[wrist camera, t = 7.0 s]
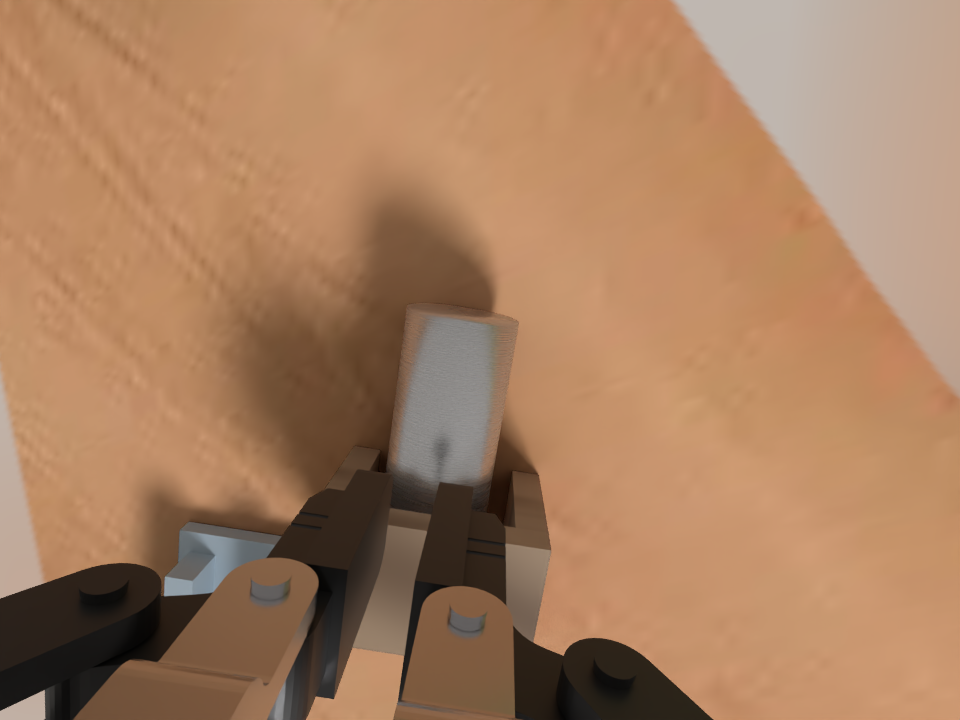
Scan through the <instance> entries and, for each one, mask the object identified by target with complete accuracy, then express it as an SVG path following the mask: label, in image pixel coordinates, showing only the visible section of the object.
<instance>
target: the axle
mask: <svg viewBox="0 0 960 720" xmlns="http://www.w3.org/2000/svg"><path fill="white" fill-rule="evenodd" d="M518 325H519V322H518V321H517V320H515V319H513V318H511V317H508V316H505V315H502V314H498V313H494V312H490V311H485V310H479V309H472V308H466V307H460V306H454V305H447V304H437V303H412V304H408V305H407V310H406V318H405V326H404V334H403V341H402V349H401V357H400V365H399V373H398V381H397V388H396V396H395V404H394V412H393V420H392V427H391V435H390V443H389V451H388V459H387V467H386V473H388V474H393V487H392V495H391V503H390V508H392V509H399V510H405V511H412V512H418V513H424V514H432V510H433V506H434V502H435V498H436V494H437V490H438V486H439V482H446V483H452V484H458V485H465V486H471V487H473V496H472V505H471V510H472V511H479V512H485V513H486V512H487V507H488V501H489V495H490V489H491V483H492V477H493V471H494V466H495V460H496V454H497V448H498V442H499V436H500V430H501V424H502V419H503V413H504V407H505V401H506V395H507V389H508V383H509V378H510V372H511V366H512V360H513V354H514V348H515V342H516V337H517V331H518Z"/></svg>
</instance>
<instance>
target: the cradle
mask: <svg viewBox="0 0 960 720" xmlns="http://www.w3.org/2000/svg"><path fill="white" fill-rule="evenodd" d="M281 537H282V536H278V535H271V534H265V533H259V532H252V531H246V530H239V529H233V528H227V527H220V526H214V525H207V524H201V523H195V522H188V523H187V524H186V525H185V526H184V527H182V528H181V529H180V533H179V555H178V564H177V565H176V566H175V567H174V568H173V569H172V570H171V571H170V572H169V573H168V574H167V575H166V576H165V586H164V596H177V595H194V594H205V593H212V592H214V591H215V589H216V588H217V587H218V586H219V584H220V583H221V582H222V581H223V579H224V578H225V577H226V576H227V575H228V574H229V573H230V572H231V571H232V570H234V569H235V568H237V567H239V566H241V565H243V564H245V563H248V562H251V561H254V560H258V559H264V558H266V557H267V556H268V555H269V553H270V552H271V551H272V549H273V548H274V546H275V545H276V544H277V542H278V541H279V539H280V538H281Z"/></svg>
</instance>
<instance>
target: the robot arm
mask: <svg viewBox="0 0 960 720" xmlns="http://www.w3.org/2000/svg"><path fill="white" fill-rule="evenodd" d="M392 487H393V474H388V473H381V472H375V471H368V470H362V469H357V471H356V472H355V474H354V476H353V477H352V479H351V481H350V482H349V484H348V485H347V487H346V489H345V490H337V489H331V488H327V489H325V490H323V491H321V492H319V493H318V494H316V495H314V496H312V497H310V498H309V499H308V501H307V502H306V503H305V505H304V506H303V508H302V509H301V510H300V512H299V514H297V516H296V517H295V519H294V520H293V521H292V523H291V526H289V527H288V528H287V530H286V531H285V532H284V534H283V535H282V537H281V538H280V539H279V541H278V542H277V544H276V545H275V546H274V548H273V549H272V551H271V552H270V553H269V555H268V556H267V557H266V558H264V559H258V560H254V561H251V562H248V563H245V564H243V565H241V566H239V567H237V568H235V569H234V570H232V571H231V572H230V573H229V574H228V575H227V576H226V577H225V578H224V579H223V581H222V582H221V583H220V584H219V586H218V587H217V588H216V589H215V591H214V592H212V593H205V594H194V595H177V596H161V579H160V577H159V575H158V574H157V573H156V572H155V571H153V570H152V569H150V568H147V567H145V566H141V565H137V564H129V563H116V564H106V565H100V566H95V567H91V568H88V569H85V570H81V571H79V572H76V573H73V574H70V575H67V576H64V577H61V578H58V579H55V580H53V581H50V582H47V583H44V584H41V585H38V586H35V587H32V588H29V589H27V590H24V591H21V592H18V593H15V594H12V595H9V596H6V597H4V598H1V599H0V711H1V710H3V709H5V708H7V707H9V706H11V705H13V704H16V703H18V702H20V701H22V700H24V699H26V698H28V697H30V696H32V695H34V694H37V693H39V692H41V691H43V690H45V717H46V719H45V720H306V718H307V716H308V714H309V712H310V709H311V707H312V704H313V702H314V699H315V697H316V696H317V697H324V698H330V699H334V697H335V694H336V692H337V689H338V686H339V683H340V680H341V678H342V675H343V672H344V669H345V667H346V664H347V661H348V658H349V655H350V653H351V650H352V647H353V644H354V642H355V639H356V636H357V633H358V630H359V628H360V625H361V622H362V619H363V616H364V614H365V611H366V608H367V605H368V603H369V600H370V597H371V594H372V591H373V589H374V586H375V583H376V580H377V578H378V575H379V572H380V568H381V564H382V560H383V555H384V549H385V543H386V535H387V527H388V519H389V511H390V503H391V495H392ZM472 496H473V487H471V486H465V485H458V484H452V483H446V482H439V486H438V490H437V494H436V498H435V502H434V506H433V510H432V514H431V518H430V522H429V526H428V530H427V534H426V538H425V542H424V546H423V550H422V554H421V558H420V562H419V566H418V570H417V574H416V578H415V583H414V591H413V598H412V605H411V612H410V619H409V626H408V633H407V641H406V648H405V655H404V662H403V669H402V676H401V684H400V691H399V698H398V703H397V706H396V710H395V715H394V719H393V720H713V719H712V718H711V717H710V716H709V715H707V714H706V713H705V712H704V711H703V710H702V709H701V708H700V707H699V706H698V705H697V704H695V703H694V702H693V701H692V700H691V699H690V698H689V697H688V696H687V695H686V694H685V693H683V692H682V691H681V690H680V689H679V688H678V687H677V686H676V685H675V684H674V683H673V682H671V681H670V680H669V679H668V678H667V677H666V676H665V675H664V674H663V673H662V672H661V671H660V670H658V669H657V668H656V667H655V666H654V665H653V664H652V663H651V662H650V661H649V660H647V659H646V658H645V657H644V656H643V655H641V654H640V653H638V652H637V651H635V650H634V649H632V648H630V647H628V646H626V645H624V644H621V643H619V642H615V641H612V640H608V639H602V638H588V639H583V640H579V641H577V642H575V643H573V644H572V645H571V646H569V648H568V649H567V650H566V652H565V654H564V656H562V655H560V654H557V653H555V652H552V651H550V650H547V649H545V648H543V647H541V646H538V645H536V644H535V643H533V642H531V641H530V640H528V639H527V638H526V637H524V636H523V635H522V634H521V633H520V632H519V631H518V630H517V629H516V628H515V627H514V626H513V619H512V615H511V612H510V611H509V609H508V607H507V606H506V546H505V545H506V528H505V527H504V526H503V524H502V523H501V521H500V520H499V519H498V517H497V516H496V514H492V513H485V512H479V511H472V510H471V505H472Z"/></svg>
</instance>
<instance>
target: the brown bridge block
mask: <svg viewBox="0 0 960 720" xmlns="http://www.w3.org/2000/svg"><path fill="white" fill-rule="evenodd" d="M380 451H381V450H377V449H371V448H364V447H358V446H354V447H353V448H352V450H351V451H350V453H349V454H348V456H347V457H346V459H345V460H344V462H343V463H342V464H341V466H340V467H339V469H338V470H337V472H336V473H335V475H334V476H333V478H332V479H331V480H330V482H329V483H328V485H327V486H326V488H325V489H327V488H331V489H337V490H345V489H346V487H347V485H348V484H349V482H350V481H351V479H352V477H353V476H354V474H355V472H356V471H357V469H362V470H368V471H375V472H378V467H379V459H380ZM325 489H324V490H325ZM430 518H431V514H424V513H418V512H412V511H405V510H399V509H392V508H390V511H389V519H388V527H387V535H386V543H385V549H384V555H383V560H382V564H381V568H380V572H379V575H378V578H377V580H376V583H375V586H374V589H373V591H372V594H371V597H370V600H369V603H368V605H367V608H366V611H365V614H364V616H363V619H362V622H361V625H360V628H359V630H358V633H357V636H356V639H355V642H354V644H353V647H352V648H358V649H364V650H371V651H377V652H384V653H390V654H396V655H403V656H404V655H405V648H406V641H407V633H408V626H409V619H410V612H411V605H412V598H413V591H414V583H415V578H416V574H417V570H418V566H419V562H420V558H421V554H422V550H423V546H424V542H425V538H426V534H427V530H428V526H429V522H430ZM503 526H504V527H505V528H506V545H505V546H506V606H507V607H508V609H509V611H510V612H511V615H512V619H513V626H514V627H515V628H516V629H517V630H518V631H519V632H520V633H521V634H522V635H523V636H524V637H526V638H527V639H528V640H530V641H531V642H533V640H534V635H535V630H536V625H537V620H538V615H539V610H540V605H541V600H542V595H543V590H544V585H545V580H546V575H547V570H548V565H549V560H550V555H551V545H550V539H549V533H548V527H547V521H546V515H545V509H544V503H543V497H542V491H541V485H540V479H539V475H537V474H530V473H524V472H518V471H512V476H511V482H510V487H509V493H508V498H507V504H506V510H505V515H504V521H503Z"/></svg>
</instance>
